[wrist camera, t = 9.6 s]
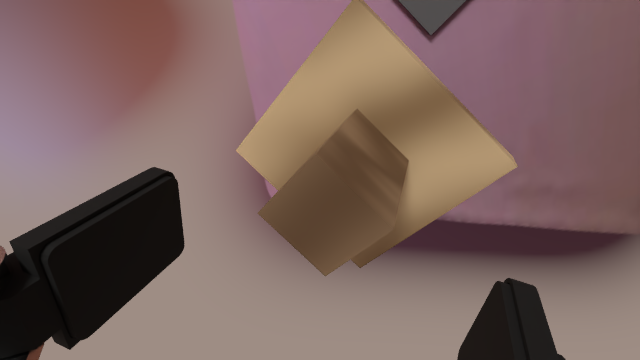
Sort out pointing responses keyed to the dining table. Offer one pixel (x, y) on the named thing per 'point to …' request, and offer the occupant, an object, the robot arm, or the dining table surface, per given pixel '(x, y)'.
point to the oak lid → (366, 146)
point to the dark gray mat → (431, 11)
